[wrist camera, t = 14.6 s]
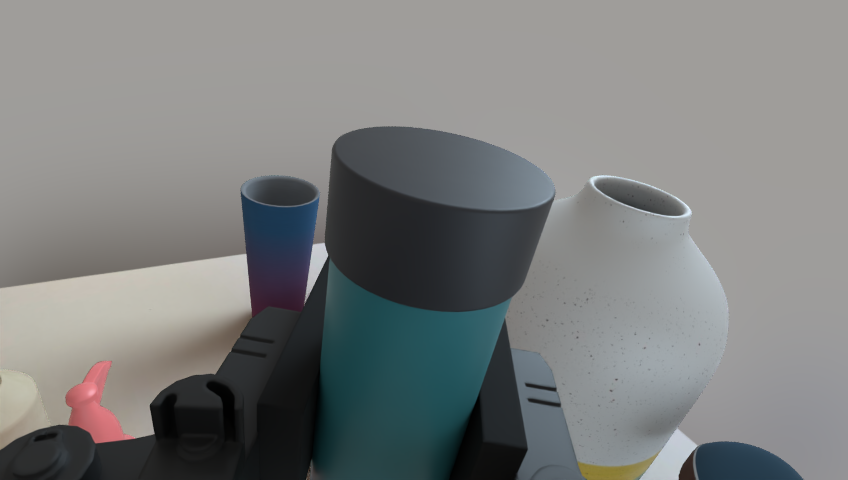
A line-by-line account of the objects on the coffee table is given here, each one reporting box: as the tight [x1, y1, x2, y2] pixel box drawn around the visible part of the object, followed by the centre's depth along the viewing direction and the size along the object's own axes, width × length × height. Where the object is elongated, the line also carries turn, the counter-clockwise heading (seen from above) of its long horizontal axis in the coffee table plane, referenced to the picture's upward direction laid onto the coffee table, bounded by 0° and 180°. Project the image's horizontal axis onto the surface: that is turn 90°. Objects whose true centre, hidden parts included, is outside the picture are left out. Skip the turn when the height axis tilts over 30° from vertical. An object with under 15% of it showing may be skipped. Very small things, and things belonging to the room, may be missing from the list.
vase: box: [505, 176, 729, 480], centre depth 33 cm, size 17×17×24 cm
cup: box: [241, 175, 320, 317], centre depth 43 cm, size 7×7×15 cm
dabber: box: [310, 127, 555, 480], centre depth 9 cm, size 3×3×12 cm
